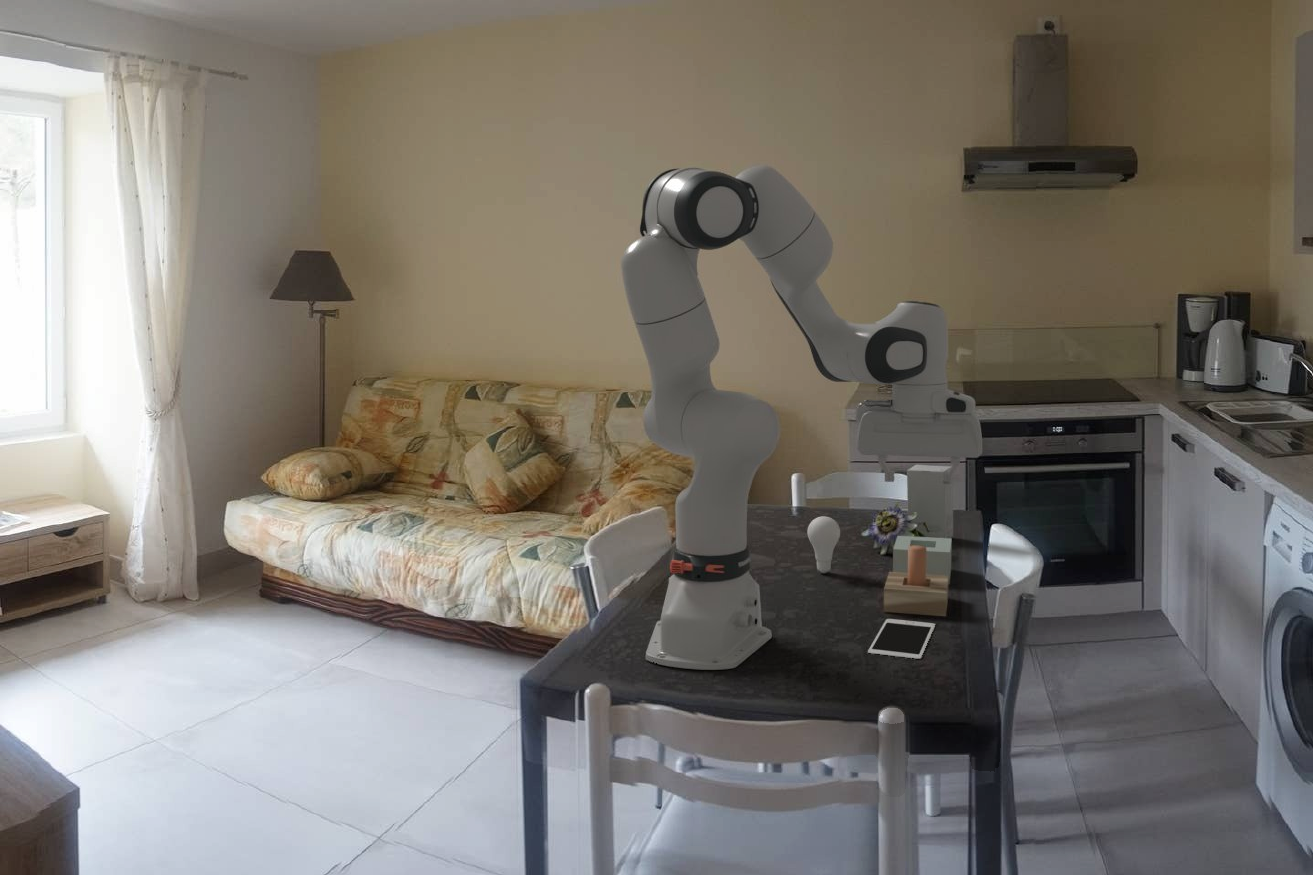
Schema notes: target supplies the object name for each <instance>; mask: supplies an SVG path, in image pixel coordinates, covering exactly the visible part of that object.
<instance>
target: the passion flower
mask: <svg viewBox="0 0 1313 875" xmlns="http://www.w3.org/2000/svg"><path fill="white" fill-rule="evenodd" d="M902 506H903V505H902V503H900V501H899V502H897V503H895V504H894V506H893V507H892V506H890V507H887V508H886V509H884V508H882V509H881V510H876V513H875V514H873V516H871V518H872V521H873V522H871V523H869V524H868V525H867V526H868V527H867V528H866V529H864V530H863V531H862V532H860V536H861V537H865V538H867V537H871V539H872V540H873V546H872V547H873V550H878V549H880V556H885V555H887V554H888V552H889V549H890V546H891V548H892V549H893V548H894V545H895V542H896V539H897V536H912V537H926V536H925V535H923V534H922V533H921V532H919V531H917V530H916V528H917V525H919V524H922V523H919V524H914V523H911V522H910V521H912V520H913V519H914V518H916V517H917V513H916V512H914V513H908V512H907V513H904V512H903V511H902V508H903V507H902ZM923 525H924V526H925V527H926V529H927V532H930V529H929V528H928V526H927V524H926V522H923Z"/></svg>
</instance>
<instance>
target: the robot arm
mask: <svg viewBox="0 0 1313 875" xmlns="http://www.w3.org/2000/svg"><path fill="white" fill-rule="evenodd" d="M641 207H642V212H641V214H642V215H641V218H640V224H639V225H640V226H639V233H640V235H641V236H642V237H639V238H638V239H636V240H634V241H633V242H631V244H630V245H629V246H628V247H626V249H625V250H624V251H623V253H622V256H621V260H620V269H621V274H622V282H623V286H624V291H625V295H626V300H627V304H628V306H629V310H630V313H631V316H632V320H633V321H634V326H635V328H636V330H637V333H638V336H639V340H640V342H641V344H642V348H643V352H644V354H645V357H646V361H647V364H648V368H649V371H650V372H649V373H650V379H651V382H650V383H651V397H650V399H649V400H648V401H647V404H646V406H645V408H644V412H643V419H642V420H643V421H642V422H643V428H644V432H645V434H646V436H647V438H648V439H649V440H650V441H651V442H652V443H653V444H655V445H656V446H658V447H660V448H661V449H663V450H664V451H667V452H669V453H671V454H673V455H677V456H682V457H687V458H693V459H694V470H693V474H692V478H691V481H690V483H689V485H688V486H687V487H685V488H684V489H683V490H682V491H680V493H679V494H678V495H677V497H676V500H675V504H674V505H675V507H674V508H675V535H676V536H675V542H676V545H675V546H674V548H673V554H672V559H671V561H670V564H669V566H670V567H669V569H670V570H669V571H670V574H672V575H670V577H668V585H667V590H666V594H665V597H664V598H665V599H664V601H663V606H662V608H661V614H660V620H658V621H657V622H656V623H655V626H654V629H653V632H652V635H651V637H650V640H649V643H648V645H647V649H646V651H645V661H648V662H650V663H653V662H654V663H653V664H656V663H657V665H661V666H666V667H671V668H672V667H673V668H678V669H688V670H689V669H690V670H691V669H692V670H702V671H703V670H704V671H705V670H709V671H711V670H712V671H713V670H714V671H716V670H720V671H721V670H729V669H735V668H736V667H738V666H739V665H740V664H742V663H743V662H744V661H745V660H746V659H748V658H749V657H750V656H752V655H753V653H755V652H756V651H758V650H759V649H760V648H761V647H762V646H763V645H765V644H766V643H767V642H769V640H771V639H772V637H773V636H772V630H771V629H769V628H767V627H766V626H763V624H762V606H761V592H760V591H761V590H760V585H759V583H758V582H757V581H756V580H755V579H754V578H753V576H752V575H751V574H750V571H749V570H750V569H751V553H750V547H749V546H750V545H748V544H747V529H748V528H747V524H748V523H747V521H748V520H747V518H748V513H747V512H748V498H749V494H750V489H751V486H752V483H753V480H754V478H755V474H756V472H757V471H758V470H759V468H760V466H761V465H762V464H764V462H765V461H766V460H768V459H769V458H770V457H771V456H772V454H773V453H774V452H775V450H776V448H777V446H778V443H779V440H780V435H781V423H780V419H779V415H778V414H777V412H776V409H775V408H774V406H772V405H771V404H770V403H768V402H767V401H766V400H763V399H760V398H759V397H756V396H753V395H751V394H748V393H746V392H741V391H731V390H723V389H722V390H721V389H717V388H716V386H715V385H714V384H713V382H712V377H711V363H712V362H713V361H714V360H715V358H716V357H717V355H718V353H719V350H720V338H719V336H718V332H717V328H716V326H715V323H714V320H713V317H712V314H711V311H710V308H709V304H708V302H707V298H706V295H705V293H704V291H703V290H704V289H703V287H702V284H701V282H700V279H699V277H698V276H699V274H698V257H699V253H700V250H705V251H711V250H718V249H721V248H723V247H727V246H728V245H731V244H732V243H734V242H736V241H737V240H741V242H743V244H744V245H745V246H746V247H747V249H748V250H749V252H750V253H751V254H752V255H753V257H754V258H755V259H756V260H757V262H758V263H759V264H760V266H761V267H762V268H763V269H764V270H765V271H764V272H766V274H767V275H768V277H769V279H770V282H771V285H772V287H773V289H774V291H775V293H776V294H777V297H778V298H779V300H780V301H781V303H782V304H783V306H784V307H785V309H786V311H788V314H790V316H791V318H792V320H793V321H794V322H795V324H796V326H797V327H798V329H799V330H800V331H801V333H802V334H803V336H804V337H805V339H806V342H807V344H808V346H809V349H810V351H811V355H812V358H813V361H814V363H815V366H816V368H817V370H818V371H819V373H820V374H821V375H822V376H823V377H825V378H826V379H827V380H829V381H832V382H837V383H847V382H848V383H851V382H852V383H862V384H875V385H892V386H891V387H892V389H891V390H892V391H891V394H892V395H891V398H892V399H879V400H878V399H876V400H875V399H866V400H864V401H863V402H861V403H858V405H857V407H856V409H855V421H856V424H857V425H858V432H857V440H856V449H857V451H858V453H859V454H860V455H862V456H863V455H864V456H865V455H866V456H878V457H877V459H878V464H879V465H880V467H881V469H882V471H883V472H884V482H887V483H889V482H891V483H893V482H895V469H890V468H889V466H888V464H887V463H886V462H887V461H888V457H889V456H891V457H893V456H894V457H895V456H898V457H930V458H931V457H932V458H933V457H936V458H950V464H952V465H951V466H952V467H951V469H950V470H949V472H943V484H952V481H953V479H954V478H953V475H954V473H955V472H956V470H957V468H958V467H959V466H960V463H961V458H971V459H975V458H976V459H978V458H979V457H980V456H981V455H982V453H983V436H982V427H981V422H980V419H979V416H978V415H977V414H976V413H975V412H974V411H975V409H976V400H975V398H974V397H973V396H970V395H967V394H964V393H961V392H958V391H954V390H951V389H949V388H948V387H949V386H948V385H949V384H948V383H949V382H948V376H947V372H946V366H947V364H946V363H947V361H948V357H949V329H948V322H947V321H948V320H947V316H946V313H945V310H944V308H942V307H941V306H940V305H937V304H936V303H931V302H927V301H918V300H917V301H915V300H905V301H901V302H899V303H898V304H897V305H896V308H895V309H894V310H893V311H892V312H890V313H889V314H888V315H887V316H885V317H884V318H882V319H880V320H877V321H875V322H874V323H856V322H853V321H849V320H846V319H843V318H842V317H840V316H839V315H838V314H837V313H836V312H835V310H834V308H833V307H832V305H831V304H830V302H829V301H828V299H827V298H826V296H825V295H824V293H823V291H822V290H821V288H820V286H819V285H818V283H817V280H818V279H819V277H820V276H822V275H823V273H824V272H825V271H826V269H827V268H828V266H829V264H830V262H831V259H832V256H833V251H834V250H833V248H834V242H833V239H832V237H831V234H830V231H829V230H828V228H827V226H826V224H825V223H824V221H823V220H822V218H820V216H819V215H818V213H817V212H816V211H815V209H814V208H813V207H812V206H811V204H810V203H809V202H808V200H807V199H806V198H805V197H804V196H803V195H802V193H801V192H800V191H799V190H798V189H797V188H796V187H795V186H794V185H793V184H792V182H790V181H789V180H788V179H787V178H786V177H785V176H783V175H782V174H781V173H780V172H779V171H777V170H776V168H774V167H772V166H769V165H765V164H764V165H763V164H759V165H755V166H751V167H748V168H746V169H743V171H741V172H740V173H738V174H737V175H735V177H734V176H732V175H729V174H727V173H724V172H720V171H714V170H707V169H703V168H700V167H684V168H683V167H682V168H672V169H668V170H666V171H664V172H661V173H660V174H659V175H656V176H655V178H654V177H653V179H652V180H651V181H650V182H649V184H648V185H647V188H646V189H645V192H644V195H643V199H642V206H641ZM644 232H645V233H646V234H645V233H644ZM953 482H954V481H953Z"/></svg>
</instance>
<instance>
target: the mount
mask: <svg viewBox="0 0 1313 875" xmlns="http://www.w3.org/2000/svg"><path fill="white" fill-rule="evenodd" d="M948 600H949V584H948V576H947V575H931V574H926V586H911V585H908V573H899V572H893V571H889V572H888V575H887V577H886V580H885V584H884V587H883V613H896V614H897V613H898V614H907V615H909V614H910V615H921V616H922V615H923V616H933V617H947V609H948Z"/></svg>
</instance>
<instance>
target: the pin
mask: <svg viewBox="0 0 1313 875" xmlns="http://www.w3.org/2000/svg"><path fill="white" fill-rule="evenodd" d="M908 585H911V586H926V547H924V546H916V545H915V546H909V547H908Z"/></svg>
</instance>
